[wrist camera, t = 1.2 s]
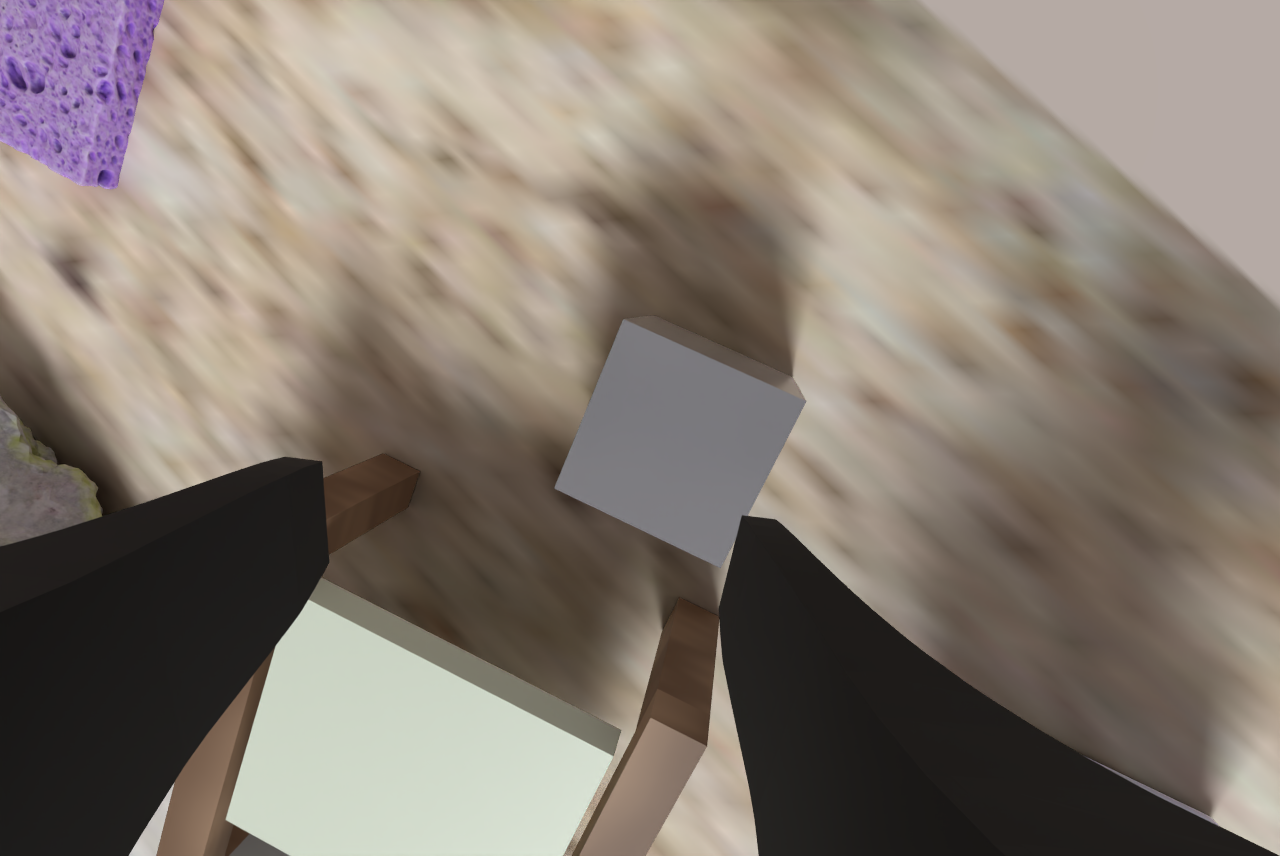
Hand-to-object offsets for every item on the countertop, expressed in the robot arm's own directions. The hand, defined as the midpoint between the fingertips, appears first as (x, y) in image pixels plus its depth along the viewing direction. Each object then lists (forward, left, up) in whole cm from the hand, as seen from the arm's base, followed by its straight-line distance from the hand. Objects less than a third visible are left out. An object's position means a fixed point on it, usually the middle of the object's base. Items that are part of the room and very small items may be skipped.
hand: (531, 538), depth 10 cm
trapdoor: (+2, +14, -6) cm, 15 cm away
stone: (-1, -1, -11) cm, 11 cm away
